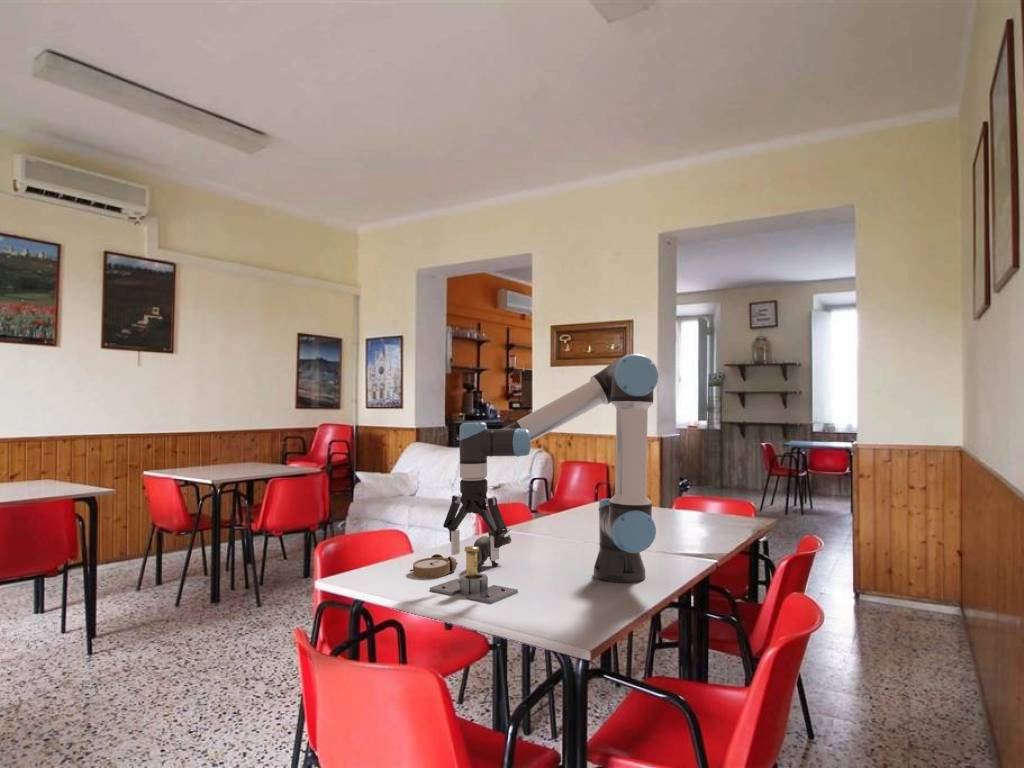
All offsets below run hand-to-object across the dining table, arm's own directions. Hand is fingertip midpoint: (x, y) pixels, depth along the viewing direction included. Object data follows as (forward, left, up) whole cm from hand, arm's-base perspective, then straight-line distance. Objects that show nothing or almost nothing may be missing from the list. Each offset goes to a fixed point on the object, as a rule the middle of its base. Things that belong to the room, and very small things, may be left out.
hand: (474, 557), depth 173 cm
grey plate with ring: (0, 0, -9) cm, 9 cm away
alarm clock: (+23, -10, -10) cm, 27 cm away
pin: (+1, 0, -9) cm, 9 cm away
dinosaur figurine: (+14, -23, -9) cm, 29 cm away
